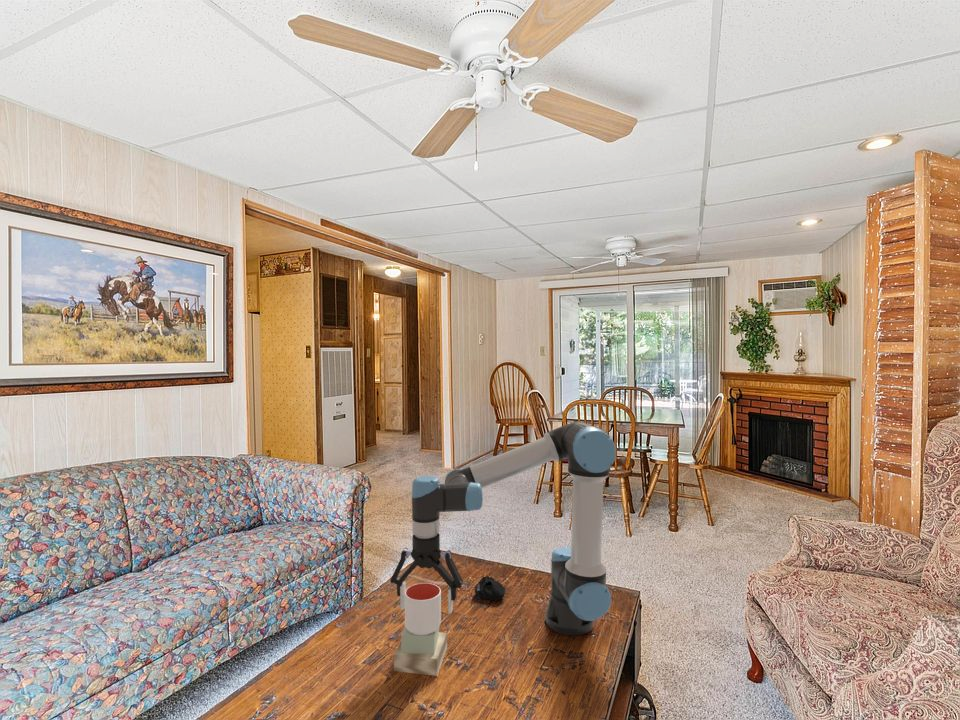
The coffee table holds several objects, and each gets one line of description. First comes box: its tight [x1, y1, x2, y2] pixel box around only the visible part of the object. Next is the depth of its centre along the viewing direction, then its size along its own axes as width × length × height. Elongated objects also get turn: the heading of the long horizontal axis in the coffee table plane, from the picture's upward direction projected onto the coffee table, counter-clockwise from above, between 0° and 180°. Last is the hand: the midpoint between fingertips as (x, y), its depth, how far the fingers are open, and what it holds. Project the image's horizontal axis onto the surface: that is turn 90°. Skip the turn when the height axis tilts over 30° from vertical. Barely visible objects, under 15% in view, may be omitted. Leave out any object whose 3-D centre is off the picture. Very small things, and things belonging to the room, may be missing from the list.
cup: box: [404, 582, 442, 635], centre depth 135 cm, size 10×10×10 cm
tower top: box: [400, 625, 440, 654], centre depth 135 cm, size 9×9×5 cm
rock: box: [474, 575, 506, 601], centre depth 171 cm, size 9×10×10 cm
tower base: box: [393, 631, 448, 677], centre depth 135 cm, size 12×12×5 cm
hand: (426, 609), depth 135 cm, fingers open, 13 cm apart
